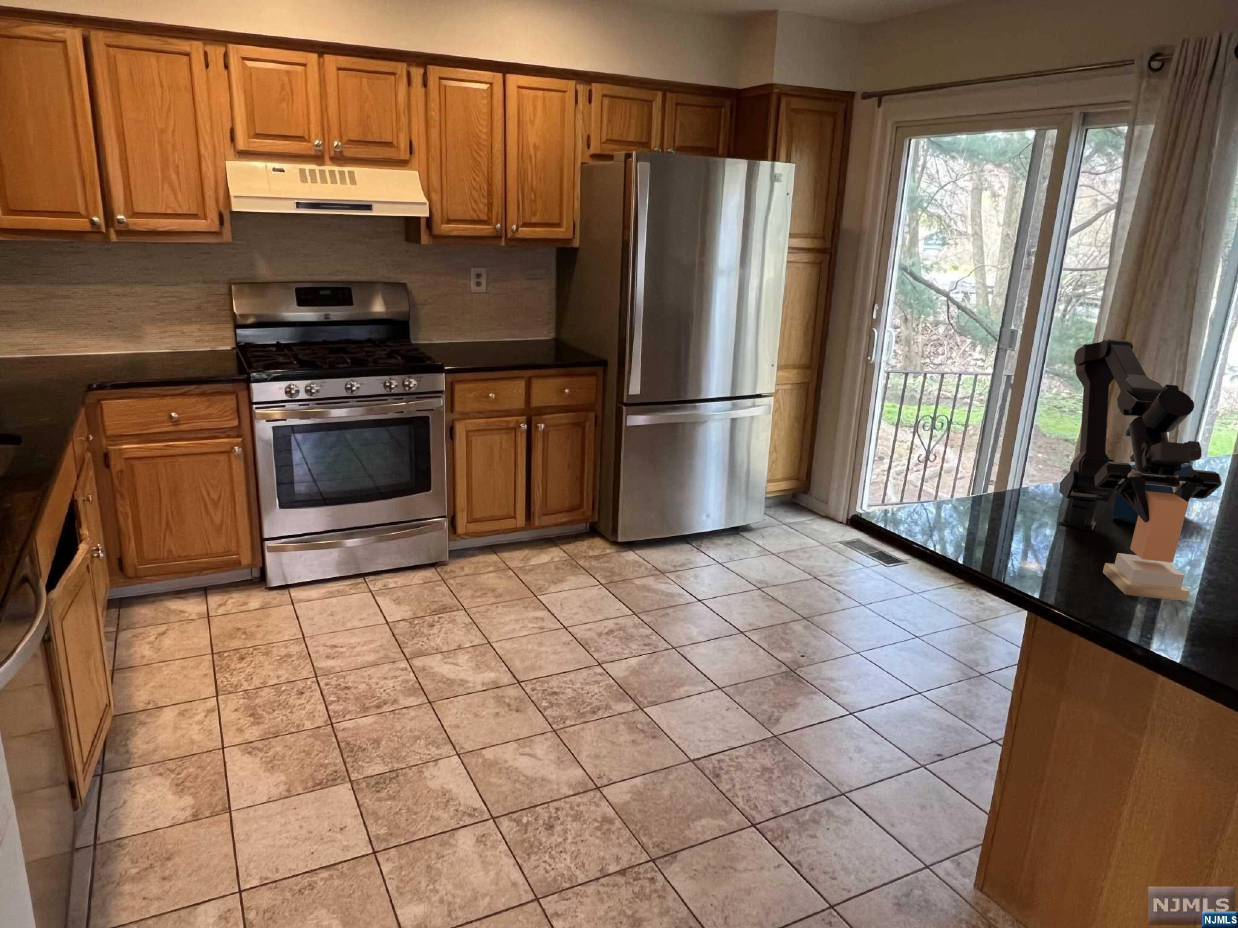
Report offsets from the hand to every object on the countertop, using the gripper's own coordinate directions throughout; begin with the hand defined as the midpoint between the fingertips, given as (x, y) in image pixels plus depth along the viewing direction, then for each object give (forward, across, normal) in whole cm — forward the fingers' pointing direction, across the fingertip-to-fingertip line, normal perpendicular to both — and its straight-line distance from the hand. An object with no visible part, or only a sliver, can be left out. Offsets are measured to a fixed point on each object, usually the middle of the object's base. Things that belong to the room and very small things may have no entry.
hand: (1163, 523), depth 146 cm
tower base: (+8, 0, +10) cm, 13 cm away
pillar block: (+4, 0, +6) cm, 7 cm away
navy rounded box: (-23, +18, +42) cm, 51 cm away
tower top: (+7, 0, +8) cm, 11 cm away
